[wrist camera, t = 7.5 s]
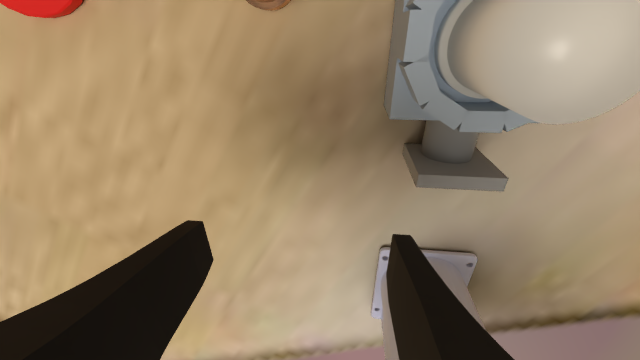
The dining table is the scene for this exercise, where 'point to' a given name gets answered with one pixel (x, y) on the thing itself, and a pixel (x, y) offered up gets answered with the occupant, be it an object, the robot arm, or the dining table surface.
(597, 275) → the dining table surface
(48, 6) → the tow hook
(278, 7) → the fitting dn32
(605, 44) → the cylinder
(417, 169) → the valve
